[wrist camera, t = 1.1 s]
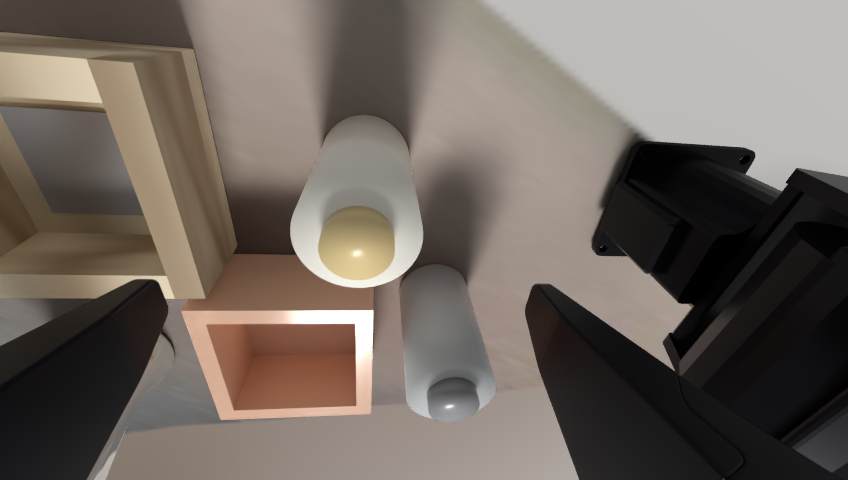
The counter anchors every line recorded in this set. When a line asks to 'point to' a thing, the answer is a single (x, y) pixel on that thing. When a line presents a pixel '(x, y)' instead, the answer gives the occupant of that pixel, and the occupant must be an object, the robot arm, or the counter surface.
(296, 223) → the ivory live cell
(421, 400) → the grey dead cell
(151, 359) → the beer glass
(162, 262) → the frame
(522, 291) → the counter surface
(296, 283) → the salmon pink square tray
